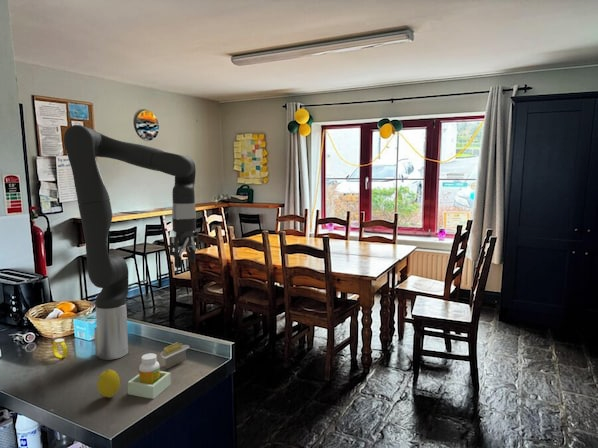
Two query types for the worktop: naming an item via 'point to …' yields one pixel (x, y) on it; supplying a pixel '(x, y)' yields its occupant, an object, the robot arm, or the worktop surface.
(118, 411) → the worktop surface
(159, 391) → the pale green open box
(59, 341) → the watch
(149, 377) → the supplement bottle
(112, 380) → the lemon
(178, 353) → the butter dish
